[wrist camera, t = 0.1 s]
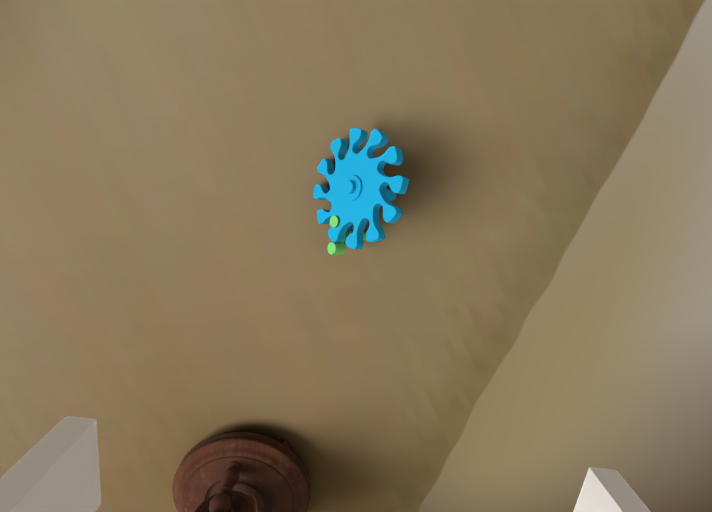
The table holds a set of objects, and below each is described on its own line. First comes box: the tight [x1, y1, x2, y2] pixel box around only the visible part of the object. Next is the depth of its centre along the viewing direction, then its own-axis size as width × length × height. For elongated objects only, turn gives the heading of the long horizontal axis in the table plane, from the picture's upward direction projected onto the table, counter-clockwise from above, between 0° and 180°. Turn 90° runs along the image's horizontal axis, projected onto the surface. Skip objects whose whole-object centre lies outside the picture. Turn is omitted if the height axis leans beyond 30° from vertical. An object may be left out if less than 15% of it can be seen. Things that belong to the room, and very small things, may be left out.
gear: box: [313, 128, 409, 254], centre depth 34 cm, size 11×6×10 cm
